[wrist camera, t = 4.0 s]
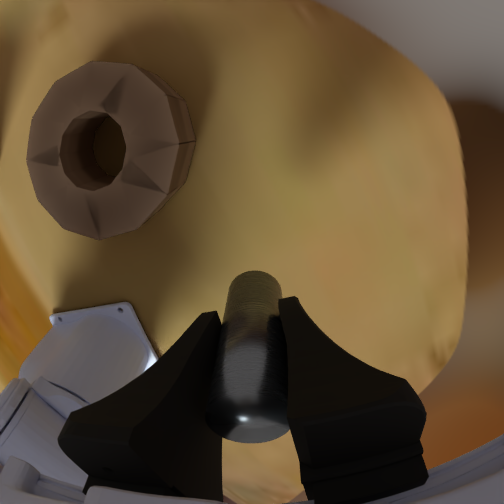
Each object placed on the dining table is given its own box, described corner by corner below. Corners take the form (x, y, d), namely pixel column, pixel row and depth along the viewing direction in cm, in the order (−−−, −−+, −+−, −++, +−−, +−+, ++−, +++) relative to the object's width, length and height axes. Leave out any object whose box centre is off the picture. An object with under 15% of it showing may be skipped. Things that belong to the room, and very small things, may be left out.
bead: (86, 232, 20) (57, 253, 17) (50, 108, 17) (15, 109, 13) (211, 195, 19) (199, 212, 16) (172, 50, 16) (151, 33, 12)
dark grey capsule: (236, 320, 14) (220, 445, 8) (222, 276, 14) (192, 398, 7) (286, 311, 14) (298, 437, 8) (275, 265, 13) (285, 388, 7)
